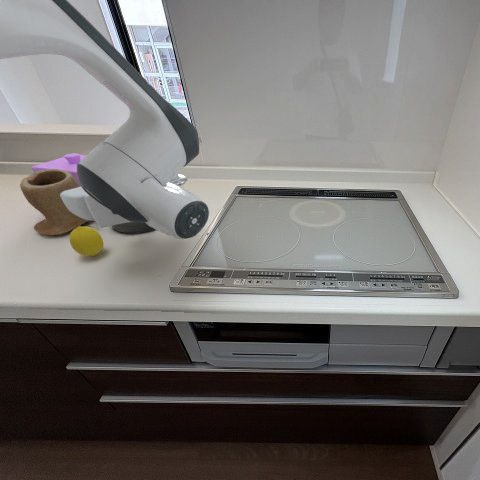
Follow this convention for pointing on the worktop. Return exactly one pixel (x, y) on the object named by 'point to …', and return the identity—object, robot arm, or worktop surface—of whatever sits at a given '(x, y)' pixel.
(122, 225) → the bowl
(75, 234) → the lemon
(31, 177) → the stone cup
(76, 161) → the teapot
